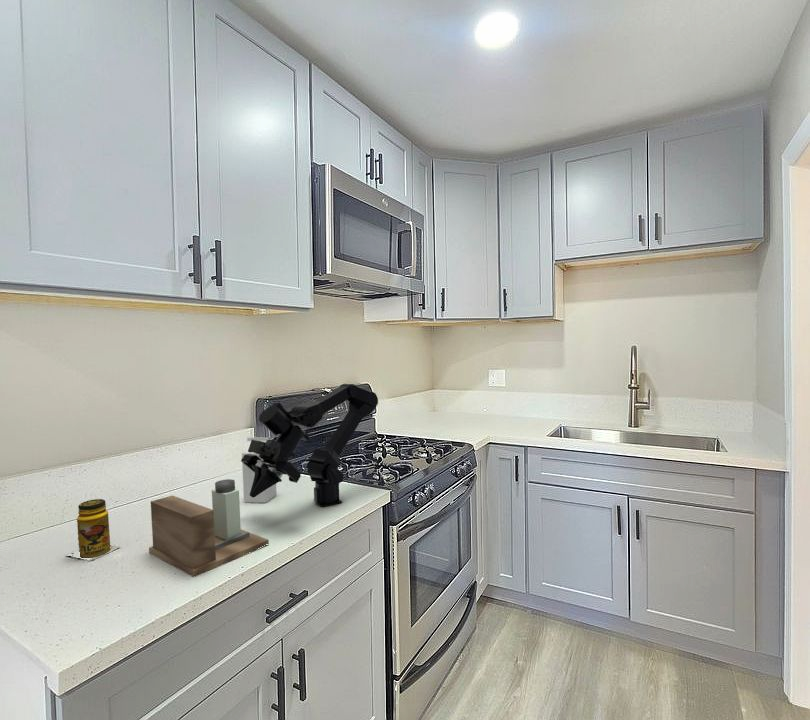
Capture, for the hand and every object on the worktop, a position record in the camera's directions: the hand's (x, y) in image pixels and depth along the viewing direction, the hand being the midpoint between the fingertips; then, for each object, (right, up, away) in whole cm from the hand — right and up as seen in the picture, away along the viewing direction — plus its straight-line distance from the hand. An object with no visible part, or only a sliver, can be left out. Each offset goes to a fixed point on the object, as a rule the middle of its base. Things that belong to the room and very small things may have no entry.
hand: (251, 496), depth 119 cm
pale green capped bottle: (-4, -8, -5) cm, 10 cm away
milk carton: (-5, -8, +25) cm, 27 cm away
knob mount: (-7, -10, -9) cm, 15 cm away
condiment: (-34, -11, -9) cm, 37 cm away
